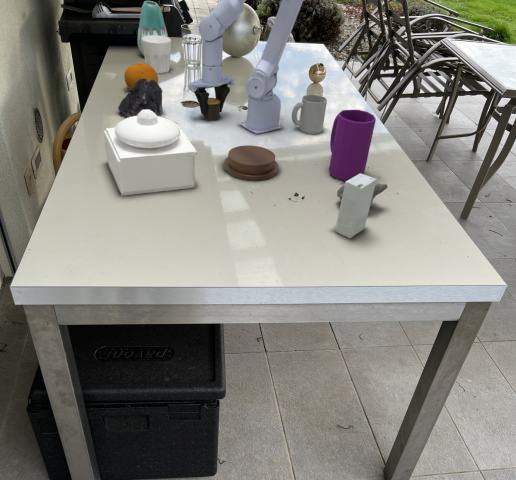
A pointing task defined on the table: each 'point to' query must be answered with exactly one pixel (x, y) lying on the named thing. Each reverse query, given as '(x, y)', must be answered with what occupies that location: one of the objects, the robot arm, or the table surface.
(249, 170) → the pod stand
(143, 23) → the vase
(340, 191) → the fossil
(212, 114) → the coffee pod
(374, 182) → the cosmetic box
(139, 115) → the butter dish
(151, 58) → the cup
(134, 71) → the fruit
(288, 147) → the table surface
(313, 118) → the cup
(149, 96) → the crystal cluster
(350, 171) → the mug
